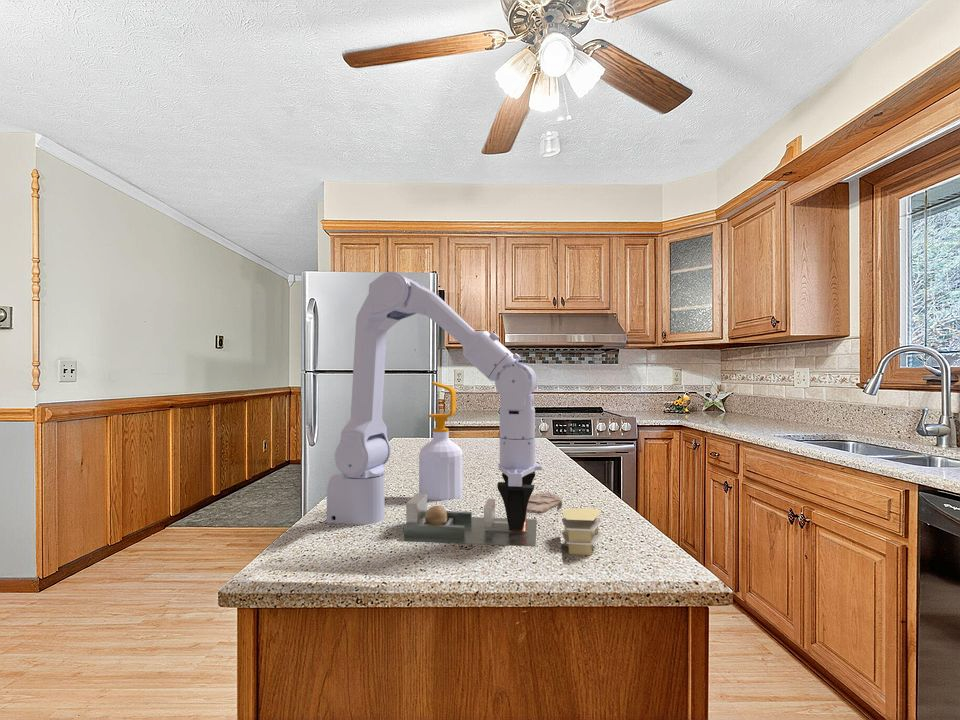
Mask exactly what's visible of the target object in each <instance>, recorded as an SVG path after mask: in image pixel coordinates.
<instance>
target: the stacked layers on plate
mask: <svg viewBox="0 0 960 720" xmlns="http://www.w3.org/2000/svg"><path fill="white" fill-rule="evenodd" d="M561 512H562V514H563V516H564V517H563V518H561V522H562V524H563V526H564V530H563V531H562V532H561V535H562V538H563V539H564V546H565V545H566V546H565V547H567V546H568V547H567V548H568V554H569V555H577V556H578V555H579V556H580V555H583V556H592V546H595V544H596V543H597V541H598V540H599V539H600V538H601V537H602V534H601V531H599V526H600V525H601V523H602V522H601V521H602V520H601V518H599V517H598V516H599V515H600V514H601V513H602V512H601V510H600V509H596V508H592V507H585V508H583V507H581V508H565V509H562V510H561Z"/></svg>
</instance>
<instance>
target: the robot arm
mask: <svg viewBox="0 0 960 720" xmlns="http://www.w3.org/2000/svg"><path fill="white" fill-rule="evenodd" d="M417 314H418V315H422V316H426V317H428V318H429V319H430V320H431V321H433V322H435V324H436V325H438V326H439V327H440V328H441V329H442V330H444V331H445V332H446V333H447V334H448V335H450V337H452V338H453V339H454V340H456V341H457V342H458V343H460V345H461V346H462V354H463V357H464V358H465V359H466V360H467V361H469V363H470V364H472V366H474V368H476V369H477V370H478V372H480V373H481V374H483V375H484V376H485V377H486V378H487V379H488V380H489V381H490V382H494V385H495V389H496V391H497V392H498V394H499V397H500V401H499V402H500V403H499V407H500V408H499V464H498V465H497V466H498V471H499V472H501V477H502V478H503V481H498V482H497V491H498V492H499V494H500V496H501V498H502V502H503V505H504V508H505V513H506V518H507V521H508V525H509V529H510V530H523V527H524V523H525V517H526V510H527V505H528V501H529V498H530V496H531V495H533V494H532V493H533V491H534V489H535V484H533V481H534V479H535V477H536V471H543V464H542V463H536V409H535V393H533V392H534V391H536V390H535V389H536V387H537V384H538V378H537V373H536V372H535V369H533V368H532V367H531V364H529V363H526V362H520V359H521V356H520V355H519V354H518V353H513V352H511V350H509V348H508V347H506V346H505V345H503V343H501V342H500V341H499V340H500V336H499V335H498V334H497V333H495V332H491V333H490V332H489V331H488V330H475V329H474V328H473V327H472V326H470V324H469V323H467V322H466V321H465V319H463V317H461V316H460V314H458V313H457V312H456V311H455V310H454V309H453V308H452V307H451V306H450V305H449V304H447V302H446V301H444V300H443V299H442V297H440V296H439V295H438V294H436V293H435V292H434V291H433V290H431V289H429V288H427V287H425V286H424V285H423V284H422V283H421V282H419V281H417V280H414V279H410V278H408V277H406V276H404V275H402V274H401V273H398V272H396V271H386V272H384V273H382V274H380V275H379V276H378V277H377V278H375V279H373V281H371V282H370V283H369V284H368V294H367V296H366V298H365V300H364V301H363V303H362V305H361V307H360V309H359V311H358V313H357V315H356V318H355V330H354V331H355V333H354V334H355V335H354V336H355V337H354V352H353V370H352V386H351V388H352V390H351V402H350V405H351V406H350V418H349V420H348V421H347V423H346V425H344V427H343V429H342V430H341V433H340V441H339V443H338V445H337V447H336V449H335V453H334V461H335V462H334V463H335V465H336V467H337V469H338V470H339V471H340V472H341V473H334V474H333V475H331V477H330V478H329V480H328V483H327V487H326V523H328V524H345V525H354V526H364V525H365V526H367V525H373V524H377V523H381V522H382V521H384V520H385V478H386V477H385V472H386V471H385V464H387V462H388V461H389V459H390V457H391V453H392V448H391V444H390V441H389V440H388V427H387V425H386V424H385V422H384V420H383V407H384V387H385V373H386V372H385V371H386V355H387V353H386V352H387V351H386V350H387V336H388V335H387V334H388V331H389V330H390V329H391V328H392V327H393V326H395V325H396V324H397V323H398V322H400V321H401V320H404V319H406V318H409V317H412V316H415V315H417Z"/></svg>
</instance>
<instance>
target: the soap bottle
mask: <svg viewBox="0 0 960 720" xmlns="http://www.w3.org/2000/svg"><path fill="white" fill-rule="evenodd" d="M431 385H432V386H435V387H439V388H442V389H444V390H447V391H448V392H449V394H450V410H449V411H450V412H449V413H432V414H431V413H430V414H428V418H433V419H434V420H433V421H434V422H436V427H434V428H432V440H430V441H429V442H427V443H426V444H424V445H423V446H422V447H421V448H420V451H419V453H418V493H427V500H429V501H448V500H453V499H456V500H463V450H462V449H461V447H460V446H459V445H458V444H457V443H455V442H454V441H452V440H451V439H450V431H449V430H450V429H449V428H448V427H446V422H448V418H450V417H452V416H454V415H455V414H456V413H457V392H456V389H455V388H454V387H452V386H450V385H447V384H443V383H441V382H437V381H433V382H431Z"/></svg>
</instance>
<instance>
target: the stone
mask: <svg viewBox="0 0 960 720" xmlns="http://www.w3.org/2000/svg"><path fill="white" fill-rule="evenodd" d="M555 507H556V509H557V511H558V510H560V509H562V507H563V502H562V498H561V497H560V496H558V495H556V494H555V493H554V494H553V493H550V492H541V493H535V494H531V496H530V498H529V501H528V505H527V514H528V513H529V514H532V513H534V514H544V513H546V512H548V511H549V510H551V509H554V508H555Z"/></svg>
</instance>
